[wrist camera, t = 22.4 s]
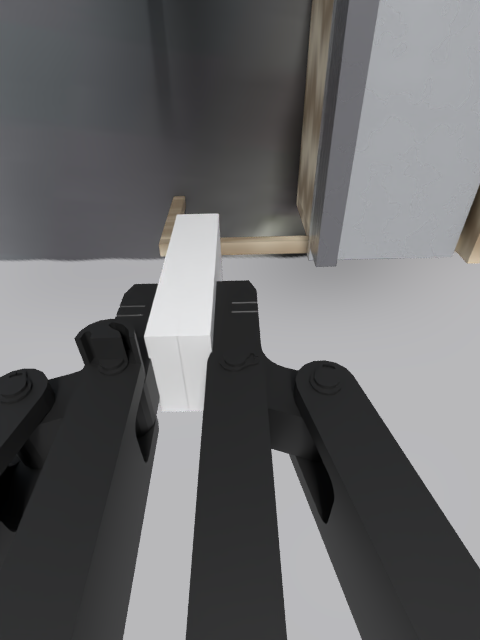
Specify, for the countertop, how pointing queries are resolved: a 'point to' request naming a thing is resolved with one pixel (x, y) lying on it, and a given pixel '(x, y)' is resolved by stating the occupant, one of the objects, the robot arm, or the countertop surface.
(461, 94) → the lid
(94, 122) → the countertop surface
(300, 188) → the housing
